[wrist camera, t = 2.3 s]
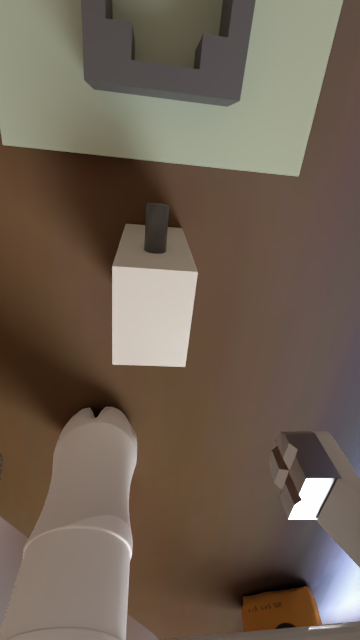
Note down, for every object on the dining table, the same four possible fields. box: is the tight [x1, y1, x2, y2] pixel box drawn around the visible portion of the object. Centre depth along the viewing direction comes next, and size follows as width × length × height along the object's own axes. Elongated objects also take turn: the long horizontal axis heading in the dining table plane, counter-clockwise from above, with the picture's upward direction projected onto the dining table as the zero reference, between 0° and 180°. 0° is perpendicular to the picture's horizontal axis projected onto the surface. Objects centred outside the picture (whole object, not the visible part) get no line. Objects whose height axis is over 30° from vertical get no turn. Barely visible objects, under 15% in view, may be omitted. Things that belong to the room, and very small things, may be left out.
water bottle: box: [0, 407, 137, 640], centre depth 21 cm, size 7×7×25 cm
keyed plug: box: [112, 203, 198, 367], centre depth 20 cm, size 4×9×9 cm, turn 174°
